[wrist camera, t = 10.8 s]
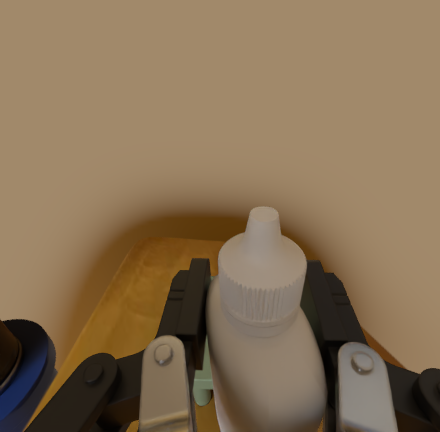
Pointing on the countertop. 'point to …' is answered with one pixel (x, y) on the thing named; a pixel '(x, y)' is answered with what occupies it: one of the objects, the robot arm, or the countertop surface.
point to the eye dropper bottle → (263, 334)
